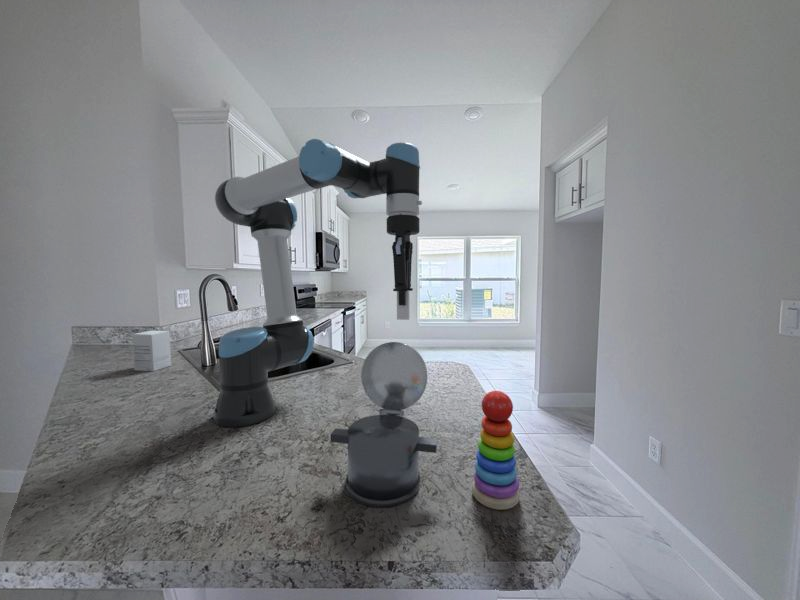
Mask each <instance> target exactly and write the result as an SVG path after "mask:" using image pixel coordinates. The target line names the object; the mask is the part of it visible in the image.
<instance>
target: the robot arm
mask: <svg viewBox="0 0 800 600" xmlns="http://www.w3.org/2000/svg"><path fill="white" fill-rule="evenodd" d="M420 169H421V166H420V152H419V148H418V147H416V146H415V145H414V144H412V143H410V142H395V143H391V144H390V145H388V146H387V148H386V151H385V158H383V159H379V160H375V161H366V160H364V159H362V158H360V157H358V156H356V155H355V154H352V153H349V152H348V151H345V150H344V149H342V148H339V147H338V146H336V145H334V144H332V143H331V142H327V141H324V140H321V139H319V138H312V139H309V140H307V141H305V145H304V146H302V147H301V149H300V152H299V154H298V156H296V157H293V158H291V159H289V160H286V161H284V162H282V163H281V162H280V163H278V164H277V165H273V166H271V167H267V168H266V169H264V170H260V171H258V172H256V173H254V174H251V175H249V176H246V177H244V176H235V177H231V178H228V179H227V180H225V181H222V183H220V184H219V185H218V187H217V189H216V190H215V195H214V201H215V205H216V208H217V210H218V212H219V213H220V214H221V215H222V217H223V218H225V220H227V221H228V222H231V223H232V224H236V225H238V226H243V227H250V228H249V229H250V236H251V237H252V238H254V239H255V240H256V241H257V246H258V247H257V248H258V254H259V261H260V262H259V263H260V269H261V270H260V271H261V278H262V286H263V294H264V295H263V296H264V300H265V301H264V303H265V310H266V317H267V318H266V320H265V322H264V323H263V324H262V326H252V327H251V326H250V327H243V328H239V329H234V330H231V331H229V332H226V333H225V334H223V335H222V336H221V337H220V339H219V344H218V352H217V353H218V359H219V375H220V376H219V377H220V378H219V381H220V383H219V385H220V391H219V395H218V397H217V401H216V404H215V408H214V409H213V410H214V411H213V421H214V424H216V425H218V426H220V427H226V428H227V427H228V428H235V427H244V426H245V427H246V426H251V425H255V424H258V423H260V422H264V421H265V420H267V419H270V417H272V416H273V415H274V414H275V413H276V402H275V400H274V397H273V394H272V392H271V389H270V386H269V384H268V383H269V380H268V377H269V376H268V372H272V371H275V370H279V369H283V368H286V367H289V366H290V367H291V366H295V365H298V364H300V363H304V362H305V361H306V360H307V359H308V358H309V356H310V355H312V352H313V350H314V343H315V342H314V336H313V333H312V331H311V330H310V328H309V327H308V326H306V325H304V320H303V318H301V317H300V316H299V315H298V314H297V305H296V299H295V298H296V297H295V290H294V282H293V276H292V267H291V260H290V259H291V258H290V252H289V243H288V239H289V238H290V237H291V235H292V230H294V228H295V227H296V222H297V220H298V210H297V208H296V205H295V203H294V201H293V200H292V199H291V198H293V197H297V196H299V195H301V194H302V195H303V194H305V193H308V192H312V191H315V190H319V189H322V188H326V187H330V186H333V187H335V188H338V189H339V188H340V189H342V190H343V191H344V193H346V194H347V196H348V197H349V198H351V199H367V198H369V197H376V196H381V195H386V198H385V200H386V204H385V205H386V207H385V208H386V213H385V214H386V216H388V217H387V218H386V233H387V234H388V235H391V236H395V237H394V241H393V242H392V246H391V249H392V256H393V257H392V258H393V274H394V275H393V276H394V277H393V278H394V279H393V280H394V288H393V289H392V291H393V292H396V320H400V321H401V320H406V321H407V320H410V292H413V289H414V288H413V287H412V262H413V261H412V259H413V252H414V251H413V250H414V249H413V248H414V247H413V242H411V236H414V235H415V236H416V235H418V234H419V233H420V217H418V216H419V215H420V206H421V205H423V201H422V200H420Z"/></svg>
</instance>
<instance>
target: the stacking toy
mask: <svg viewBox="0 0 800 600" xmlns="http://www.w3.org/2000/svg"><path fill="white" fill-rule="evenodd" d="M513 405H514V403H513V402H512V399H511V397H510V396H509V395H507V393H505V392H503V391H501V390H500V391H499V390H492V391H489V392H487V393H486V394H485V395H484V396H483V398H482V400H481V409H482V412H483V414H484V415H485V416H484V417H483V418H482V420H481V427H482V429H481V431H480V439H479V441H478V444H477V446H478V449H477V451H476V455H475V456H476V461H475V464H474V470H475V471H474V474H473V481H472V484H471V491H472V495H473V496H474V498H475V500H476V501H478V502H479V503H480V504H482V505H483V506H484V507H487V508H489V509H493V510H497V511H498V510H500V511H503V510H504V511H505V510H510V509H512V508H514V507H515V506H517V505H518V503H519V501H520V497H521V495H520V490H519V488H520V481H519V478H518V476H517V475H518V471H517V468H516V465H517V458H516V456H515V453H516V449H515V445H514V443H515V435H514V433H513V432H512V430H513V424H512V421H511V420H510V417H511V416H512V414H513V410H514V406H513Z"/></svg>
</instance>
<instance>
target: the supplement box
mask: <svg viewBox="0 0 800 600" xmlns="http://www.w3.org/2000/svg"><path fill="white" fill-rule="evenodd" d="M131 336H132V337H131V338H132V352H133V354H132V356H133V370H134V371H140V372H156V371H159V370H161V369H165V368H167V367H171V366H172V353H171V352H172V351H171V335H170V330H147V331H142V332H136V333H131Z"/></svg>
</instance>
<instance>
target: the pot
mask: <svg viewBox="0 0 800 600" xmlns="http://www.w3.org/2000/svg"><path fill="white" fill-rule="evenodd" d="M330 443H338V444H339V443H340V444H347V474H346V477H345V478H346V479H345V482H346V483H345V486H346V487H345V488H346V491H347V493H348V494H349V497H351V498H352V499H353V500H354V501H355V502H357V503H359V504H361V505H363V506H366V507H369V508H370V507H371V508H377V509H379V508H380V509H386V508H387V509H388V508H394V507H397V506H400V505H403V504H405V503H407V502H409V501H410V500H412V499H413V498H414V497H415V496H416V495H417V494H418V492H419V490H420V487H421V476H420V472H419V467H420V466H419V462H420V461H419V460H420V458H419V457H420V456H419V455H420V452H423V453H432V454H437V451H438V438H436V437H435V438H434V437H425V436H420V429H419V426H418V425H417V424H416V422H414V421H413V420H411V419H409V418H407V417H405V416H404V417H401V416H396V415H380V414H374V415H370V416H366V417H362V418H360V419H358V420H355V421H354V422H352V423H351V424H350V425H349V426H348V429H343V428H335V429H333V431H332V432H331V433H330ZM416 493H417V494H416Z"/></svg>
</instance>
